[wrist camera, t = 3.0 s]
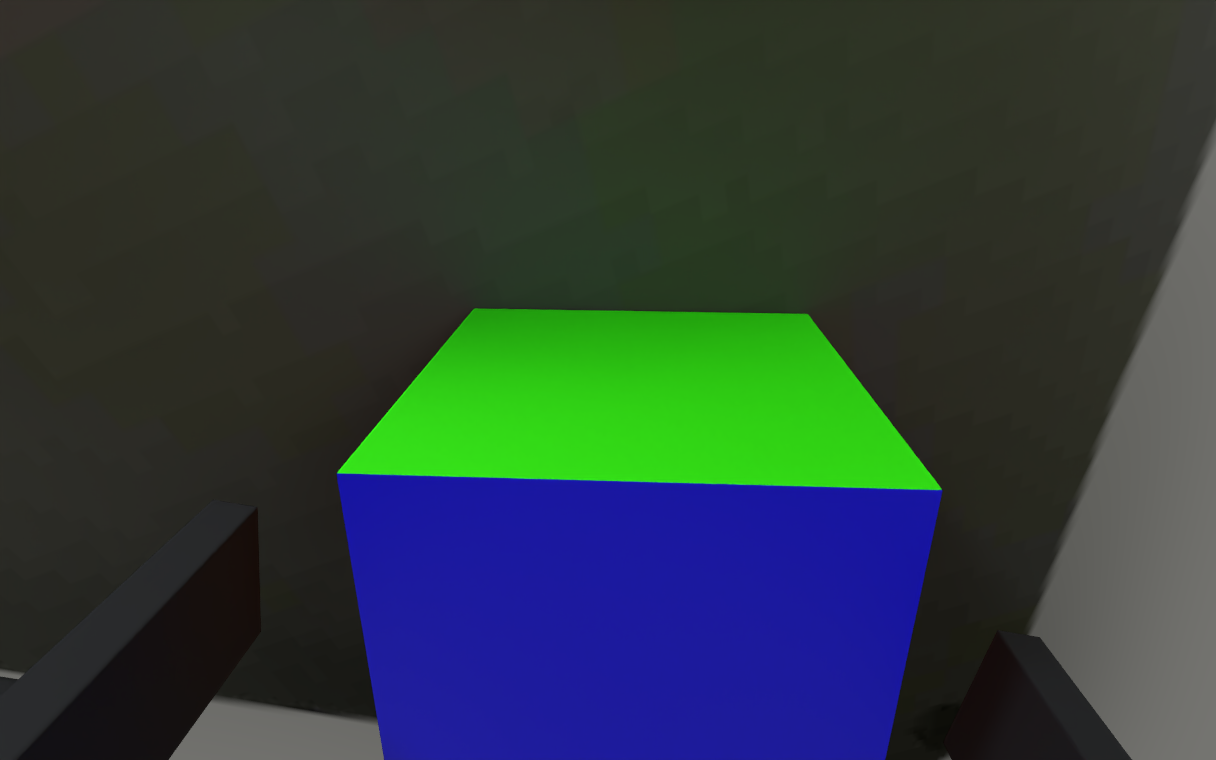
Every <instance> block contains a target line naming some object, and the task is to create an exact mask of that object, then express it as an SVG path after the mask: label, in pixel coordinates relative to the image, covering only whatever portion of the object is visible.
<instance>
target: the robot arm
mask: <svg viewBox="0 0 1216 760" xmlns="http://www.w3.org/2000/svg"><path fill="white" fill-rule="evenodd" d="M260 632H261V616H260V581H259V546H258V510H257V507H254V506H248V505H242V504H236V503H230V502H224V501H218V500H212V501H211V502H210V503H209V504H208V505H207V506H206V507H205V508H204V509H202V510H201V511H200V512H199V513H198V514H197V515H196V516H195V517H194V518H193V519H192V520H191V521H189V522H188V523H187V524H186V525H185V526H184V527H183V528H182V529H181V530H180V531H179V532H178V533H176V534H175V535H174V536H173V537H172V538H171V539H170V540H169V541H168V542H167V543H166V544H165V545H163V546H162V547H161V548H160V549H159V550H158V551H157V552H156V553H155V554H154V555H153V556H152V557H151V558H149V559H148V560H147V561H146V562H145V563H144V564H143V565H142V566H141V567H140V568H139V569H138V570H136V571H135V572H134V573H133V574H132V575H131V576H130V577H129V578H128V579H127V580H126V581H125V582H123V583H122V584H121V585H120V586H119V587H118V588H117V589H116V590H115V591H114V592H113V593H112V594H110V595H109V596H108V597H107V598H106V599H105V600H104V601H103V602H102V603H101V604H100V605H99V606H97V607H96V608H95V609H94V610H93V611H92V612H91V613H90V614H89V615H88V616H87V617H86V618H84V619H83V620H82V621H81V622H80V623H79V624H78V625H77V626H76V627H75V628H74V629H73V630H71V631H70V632H69V633H68V634H67V635H66V636H65V637H64V638H63V639H62V640H61V641H60V642H58V643H57V644H56V645H55V646H54V647H53V648H52V649H51V650H50V651H49V652H48V653H47V654H45V655H44V656H43V657H42V658H41V659H40V660H39V661H38V662H37V663H36V664H35V665H34V666H32V667H31V668H30V669H29V670H28V671H27V672H26V673H25V674H24V675H23V676H22V677H21V678H19V679H12V678H6V677H0V760H169V758H170V757H171V755H172V754H173V752H174V751H175V750H176V748H177V747H178V746H179V744H180V743H181V741H182V740H183V739H184V737H185V736H186V735H187V733H188V732H189V730H190V729H191V728H192V726H193V725H194V723H195V722H196V721H197V719H198V718H199V717H200V715H201V714H202V712H203V711H204V710H205V708H206V707H207V705H208V704H209V703H210V701H211V700H212V699H213V697H214V696H215V694H216V693H217V692H218V690H219V689H220V687H221V686H222V685H223V683H224V682H225V680H226V679H227V678H228V676H229V675H230V674H231V672H232V671H233V669H234V668H235V667H236V665H237V664H238V662H239V661H240V660H241V658H242V657H243V656H244V654H245V653H246V651H247V650H248V649H249V647H250V646H251V644H252V643H253V642H254V640H255V639H256V637H257V636H258V635H259V633H260ZM944 745H945V747H946V749H947V751H948V753H949V755H950V757H951V759H952V760H1132V759H1131V758H1130V757H1129V755H1128V754H1127V753H1126V752H1125V750H1124V749H1123V748H1122V746H1121V745H1120V744H1119V742H1118V741H1117V739H1116V738H1115V737H1114V735H1113V734H1112V733H1111V731H1110V730H1109V729H1108V727H1107V726H1106V725H1105V723H1104V722H1103V721H1102V720H1101V718H1100V717H1099V715H1098V714H1097V713H1096V712H1095V710H1094V709H1093V707H1092V706H1091V705H1090V704H1089V702H1088V701H1087V700H1086V698H1085V697H1084V696H1083V694H1082V693H1081V692H1080V691H1079V689H1078V688H1077V686H1076V685H1075V684H1074V683H1073V681H1072V680H1071V678H1070V677H1069V676H1068V674H1067V673H1066V672H1065V670H1064V669H1063V668H1062V666H1061V665H1060V664H1059V662H1058V661H1057V660H1056V659H1055V657H1054V656H1053V655H1052V653H1051V652H1050V650H1049V649H1048V648H1047V647H1046V645H1045V644H1044V642H1043V641H1042V640H1041V638H1040V637H1034V636H1029V635H1023V634H1017V633H1011V632H1005V631H999V630H997V633H996V635H995V637H994V639H993V641H992V643H991V645H990V647H989V649H988V651H987V653H986V655H985V657H984V659H983V661H982V663H981V666H980V668H979V670H978V672H977V674H976V676H975V678H974V680H973V682H972V684H971V686H970V688H969V690H968V692H967V694H966V696H965V698H964V701H963V703H962V705H961V707H960V709H959V711H958V713H957V715H956V717H955V719H954V721H953V723H952V725H951V727H950V729H949V731H948V733H947V736H946V738H945V740H944Z"/></svg>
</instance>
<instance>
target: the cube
mask: <svg viewBox="0 0 1216 760" xmlns="http://www.w3.org/2000/svg"><path fill="white" fill-rule="evenodd" d="M336 474H337V480H338V486H339V492H340V498H341V504H342V510H343V516H344V522H345V528H346V534H347V540H348V546H349V552H350V558H351V564H352V570H353V576H354V581H355V587H356V593H357V599H358V605H359V611H360V617H361V623H362V629H363V635H364V641H365V647H366V653H367V659H368V665H369V671H370V677H371V683H372V689H373V695H374V701H375V707H376V713H377V719H378V725H379V731H380V737H381V743H382V749H383V755H384V760H885V758H886V754H887V749H888V744H889V739H890V735H891V730H892V725H893V721H894V716H895V711H896V707H897V702H898V697H899V692H900V688H901V683H902V678H903V674H904V669H905V664H906V659H907V655H908V650H909V645H910V641H911V636H912V631H913V627H914V622H915V617H916V612H917V608H918V603H919V598H920V594H921V589H922V584H923V580H924V575H925V570H926V565H927V561H928V556H929V551H930V547H931V542H932V537H933V533H934V528H935V523H936V518H937V514H938V509H939V504H940V500H941V495H942V489H941V488H940V486H939V485H938V484H937V482H936V481H935V480H934V478H933V477H932V476H931V474H930V473H929V472H928V471H927V469H926V468H925V467H924V465H923V464H922V463H921V461H920V460H919V459H918V457H917V456H916V455H915V454H914V452H913V451H912V450H911V448H910V447H909V446H908V444H907V443H906V442H905V440H904V439H903V438H902V437H901V435H900V434H899V433H898V431H897V430H896V429H895V427H894V426H893V425H892V423H891V422H890V421H889V420H888V418H887V417H886V416H885V414H884V413H883V412H882V410H881V409H880V408H879V407H878V405H877V404H876V403H875V401H874V400H873V399H872V397H871V396H870V395H869V393H868V392H867V391H866V390H865V388H864V387H863V386H862V384H861V383H860V382H859V380H858V379H857V378H856V376H855V375H854V374H853V373H852V371H851V370H850V369H849V367H848V366H847V365H846V363H845V362H844V361H843V359H842V358H841V357H840V356H839V354H838V353H837V352H836V350H835V349H834V348H833V346H832V345H831V344H830V343H829V341H828V340H827V339H826V337H825V336H824V335H823V333H822V332H821V331H820V329H819V328H818V327H817V326H816V324H815V323H814V322H813V320H812V319H811V318H810V316H809V315H808V314H780V313H718V312H656V311H594V310H533V309H473V310H472V312H471V313H470V314H469V315H468V316H467V318H466V319H465V320H464V321H463V322H462V324H461V325H460V326H459V327H458V328H457V330H456V331H455V332H454V333H453V334H452V336H451V337H450V338H449V339H448V340H447V341H446V343H445V344H444V345H443V346H442V347H441V349H440V350H439V351H438V352H437V353H436V355H435V356H434V357H433V358H432V359H431V361H430V362H429V363H428V364H427V365H426V367H425V368H424V369H423V370H422V371H421V373H420V374H419V375H418V376H417V377H416V379H415V380H414V381H413V382H412V383H411V385H410V386H409V387H408V388H407V389H406V391H405V392H404V393H403V394H402V395H401V397H400V398H399V399H398V400H397V401H396V403H395V404H394V405H393V406H392V407H391V409H390V410H389V411H388V412H387V413H386V415H385V416H384V417H383V418H382V419H381V421H380V422H379V423H378V424H377V425H376V427H375V428H374V429H373V430H372V431H371V433H370V434H369V435H368V436H367V437H366V438H365V440H364V441H363V442H362V443H361V444H360V446H359V447H358V448H357V449H356V450H355V452H354V453H353V454H352V455H351V456H350V458H349V459H348V460H347V461H346V462H345V464H344V465H343V466H342V467H341V468H340V470H339V471H338V472H337V473H336Z"/></svg>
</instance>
